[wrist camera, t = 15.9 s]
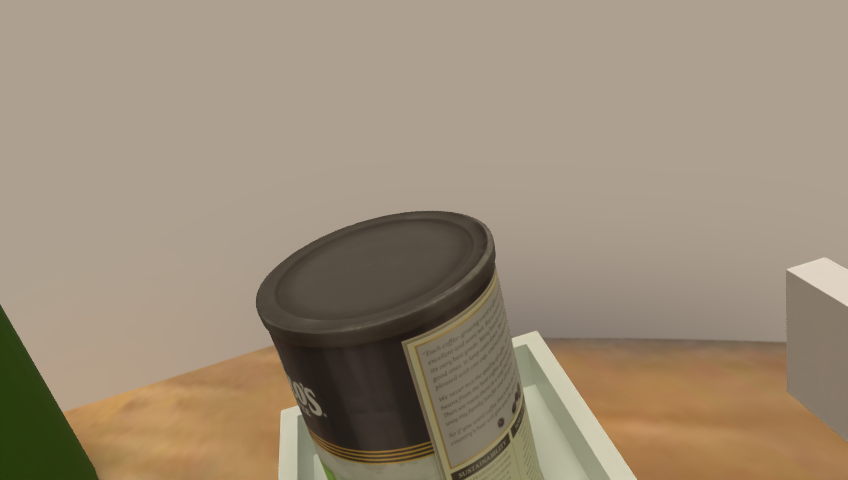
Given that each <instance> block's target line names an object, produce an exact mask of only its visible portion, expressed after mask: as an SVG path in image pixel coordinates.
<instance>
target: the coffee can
mask: <svg viewBox="0 0 848 480" xmlns="http://www.w3.org/2000/svg"><path fill="white" fill-rule="evenodd" d="M256 308H257V311H258V314H259V316H260V318H261V320H262V322H263V324H264V326H265V327H266V329H268V331H269V333H270V335H271V338H272V340H273V342H274V345H275V347H276V350H277V352H278V355H279V358H280V360H281V363H282V366H283V368H284V370H285V373H286V375H287V378H288V381H289V383H290V386H291V389H292V391H293V393H294V395H295V398H296V401H297V403H298V406H299V408H300V411H301V413H302V416H303V418H304V421H305V424H306V426H307V429H308V432H309V434H310V436H311V439H312V441H313V444H314V446H315V449H316V451H317V454H318V456H319V459H320V461H321V464H322V467H323V469H324V472H325V474H326V477H327V479H328V480H544V477H543V474H542V472H541V469H540V465H539V461H538V457H537V452H536V447H535V443H534V438H533V434H532V429H531V425H530V420H529V416H528V411H527V407H526V402H525V397H524V393H523V387H522V383H521V380H520V375H519V370H518V366H517V361H516V357H515V352H514V347H513V343H512V339H511V334H510V330H509V325H508V320H507V316H506V312H505V307H504V302H503V297H502V293H501V288H500V283H499V279H498V274H497V270H496V266H495V246H494V240H493V236H492V234H491V232H490V230H489V229H488V228H487V226H486V225H485V224H484V223H482V222H481V221H479V220H477V219H475V218H473V217H470V216H467V215H463V214H459V213H453V212H444V211H415V212H405V213H400V214H393V215H387V216H382V217H378V218H375V219H371V220H367V221H363V222H359V223H356V224H354V225H351V226H347V227H345V228H342V229H340V230H337V231H335V232H332V233H330V234H328V235H326V236H323V237H321V238H319V239H318V240H315V241H313V242H311V243H310V244H308V245H306V246H305V247H303V248H301V249H299V250H298V251H296V252H295V253H293V254H292V255H291V256H289V257H288V258H287V259H285V260H284V261H283V262H281V263H280V264H279V265H278V266H277V267H276V268H275V269H274V270H273V271H272V272H270V273H269V275H268V276H267V277H266V278H265V280H264V281H263V282H262V284H261V286H260V288H259V290H258V293H257V297H256Z"/></svg>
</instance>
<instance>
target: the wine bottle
mask: <svg viewBox="0 0 848 480" xmlns="http://www.w3.org/2000/svg"><path fill="white" fill-rule="evenodd" d="M0 480H97V475H96V471H95V468H94V467H93V465H92V463H91V461H90V460H89V458H88V456H87V455H86V453H85V451H84V449H83V448H82V446H81V444H80V442H79V441H78V439H77V437H76V435H75V434H74V432H73V430H72V428H71V427H70V425H69V423H68V421H67V420H66V418H65V416H64V415H63V413H62V411H61V409H60V408H59V406H58V404H57V402H56V401H55V399H54V397H53V396H52V394H51V392H50V390H49V388H48V387H47V385H46V383H45V382H44V380H43V378H42V376H41V375H40V373H39V371H38V369H37V368H36V366H35V365H34V362H33V361H32V359H31V357H30V356H29V354H28V352H27V350H26V348H25V347H24V345H23V343H22V342H21V340H20V338H19V336H18V335H17V333H16V331H15V329H14V328H13V326H12V324H11V322H10V321H9V319H8V317H7V315H6V314H5V312H4V310H3V309H2V307H1V305H0Z"/></svg>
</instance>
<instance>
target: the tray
mask: <svg viewBox="0 0 848 480" xmlns="http://www.w3.org/2000/svg"><path fill="white" fill-rule="evenodd" d="M512 343H513V347H514V352H515V357H516V361H517V366H518V370H519V375H520V380H521V383H522V387H523V393H524V397H525V402H526V407H527V411H528V416H529V420H530V425H531V429H532V434H533V438H534V443H535V447H536V452H537V457H538V461H539V465H540V469H541V472H542V474H543V477H544V480H637V479H636V477H635V476H634V474H633V473H632V471H631V470H630V468H629V467H628V465H627V464H626V462H625V461H624V459H623V458H622V457H621V455H620V454H619V452H618V451H617V449H616V448H615V446H614V445H613V443H612V442H611V440H610V439H609V437H608V436H607V434H606V433H605V431H604V430H603V428H602V427H601V425H600V424H599V422H598V421H597V419H596V418H595V416H594V415H593V413H592V412H591V410H590V409H589V407H588V406H587V405H586V403H585V402H584V400H583V399H582V397H581V396H580V394H579V393H578V391H577V390H576V388H575V387H574V385H573V384H572V382H571V381H570V379H569V378H568V376H567V375H566V373H565V372H564V370H563V369H562V367H561V366H560V364H559V363H558V361H557V360H556V358H555V357H554V355H553V354H552V353H551V351H550V350H549V348H548V347H547V345H546V344H545V342H544V341H543V339H542V338H541V336H540V335H539V333H538V332H537V331H534V332H531V333H527V334H524V335H521V336H518V337H515V338H512ZM278 480H328V479H327V477H326V474H325V472H324V469H323V467H322V464H321V461H320V459H319V456H318V454H317V451H316V449H315V446H314V444H313V441H312V439H311V436H310V434H309V432H308V429H307V426H306V424H305V421H304V418H303V416H302V413H301V411H300V408H299V406H295V407H291V408H288V409H285V410H282V411H281V425H280V450H279V475H278Z"/></svg>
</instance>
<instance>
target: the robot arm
mask: <svg viewBox="0 0 848 480" xmlns="http://www.w3.org/2000/svg"><path fill="white" fill-rule="evenodd" d="M786 303H787V304H786V305H787V306H786V309H787V310H786V311H787V392H788V393H790V394H791V395H792V396H793V397H794V398H795V399H797V400H798V401H799V402H800V403H801V404H803V405H804V406H805V407H806V408H807V409H808V410H810V411H811V412H812V413H813V414H814V415H816V416H817V417H818V418H819V419H820V420H821V421H823V422H824V423H825V424H826V425H827V426H829V427H830V428H831V429H832V430H833V431H834V432H836V433H837V434H838V435H839V436H840V437H842V438H843V439H844V440H845V441H846V442H847V443H848V269H846V268H844V267H842V266H840V265H838V264H836V263H834V262H833V261H831V260H829V259H827V258H825V257H824V258H821V259H818V260H815V261H812V262H808V263H805V264H802V265H799V266H796V267H792V268H789V269H786Z"/></svg>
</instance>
